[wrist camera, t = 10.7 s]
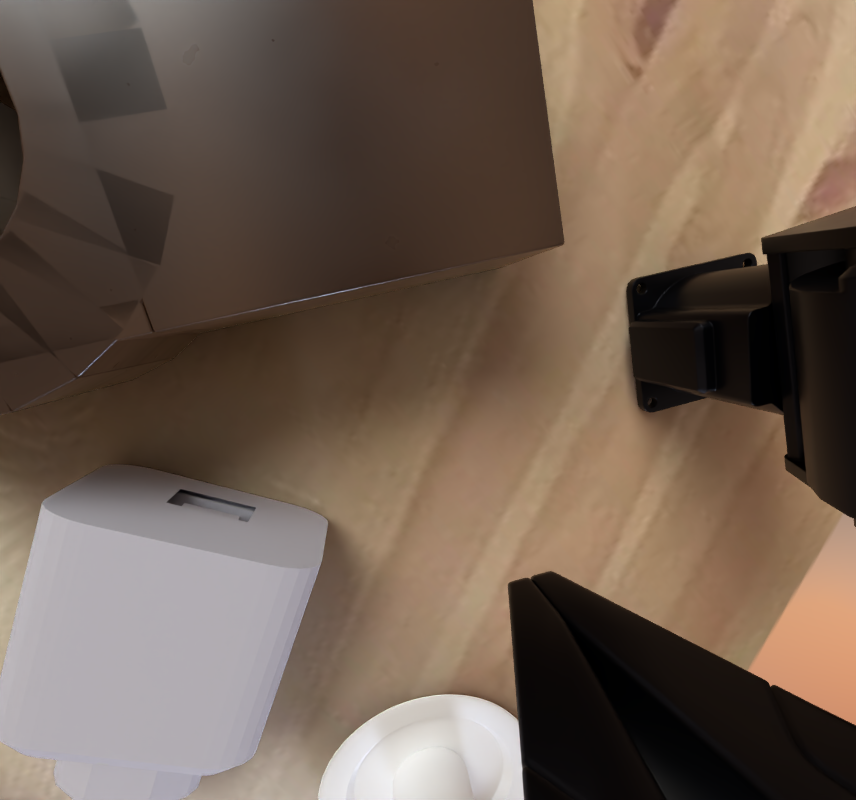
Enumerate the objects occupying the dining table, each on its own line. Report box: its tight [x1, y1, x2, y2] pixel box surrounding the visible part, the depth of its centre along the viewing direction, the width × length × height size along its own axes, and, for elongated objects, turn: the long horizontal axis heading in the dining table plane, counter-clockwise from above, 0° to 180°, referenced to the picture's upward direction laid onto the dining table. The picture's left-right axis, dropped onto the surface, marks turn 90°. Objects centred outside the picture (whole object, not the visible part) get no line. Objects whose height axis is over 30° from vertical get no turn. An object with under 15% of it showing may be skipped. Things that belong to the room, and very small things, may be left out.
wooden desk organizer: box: [0, 0, 564, 415], centre depth 13 cm, size 24×14×6 cm, turn 102°
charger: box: [0, 464, 328, 800], centre depth 17 cm, size 5×9×15 cm
